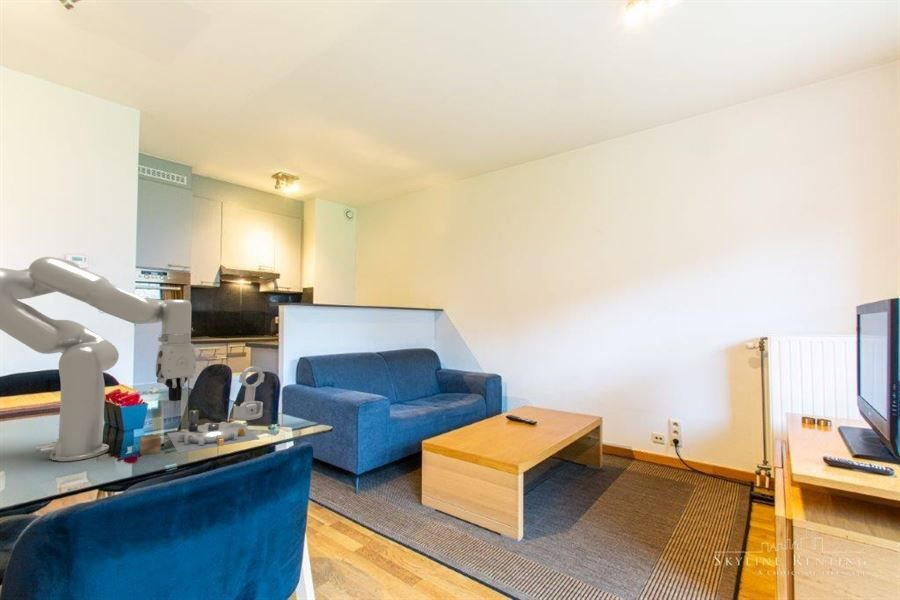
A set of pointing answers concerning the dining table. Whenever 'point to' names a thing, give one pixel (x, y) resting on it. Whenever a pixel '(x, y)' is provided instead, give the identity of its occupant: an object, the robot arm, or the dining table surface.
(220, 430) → the sprocket
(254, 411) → the engine component
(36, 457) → the dining table surface
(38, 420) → the dining table surface
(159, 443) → the link block
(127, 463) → the dining table surface
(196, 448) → the base plate
